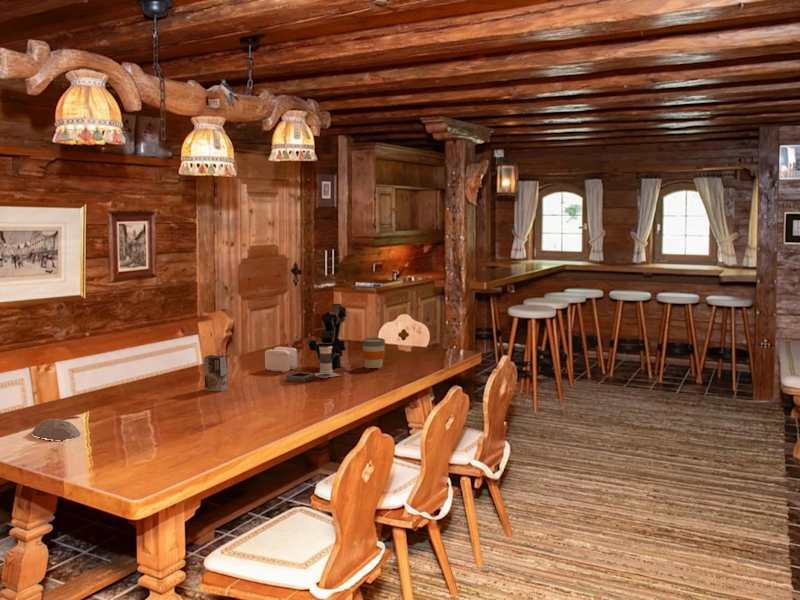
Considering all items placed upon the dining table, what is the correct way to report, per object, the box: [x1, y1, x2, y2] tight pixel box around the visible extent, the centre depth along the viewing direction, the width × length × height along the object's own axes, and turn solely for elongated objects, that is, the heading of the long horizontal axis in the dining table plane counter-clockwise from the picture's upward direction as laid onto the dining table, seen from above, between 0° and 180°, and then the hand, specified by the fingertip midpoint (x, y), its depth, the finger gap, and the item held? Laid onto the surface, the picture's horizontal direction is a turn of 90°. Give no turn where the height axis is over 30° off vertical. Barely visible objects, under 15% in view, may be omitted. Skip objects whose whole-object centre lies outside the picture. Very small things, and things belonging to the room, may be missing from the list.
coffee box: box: [203, 354, 229, 392], centre depth 368 cm, size 9×6×16 cm
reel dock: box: [285, 371, 316, 383], centre depth 390 cm, size 10×10×2 cm
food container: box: [31, 417, 82, 440], centre depth 294 cm, size 16×25×7 cm, turn 50°
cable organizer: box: [264, 346, 298, 373], centre depth 414 cm, size 15×11×12 cm
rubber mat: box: [314, 372, 341, 379], centre depth 400 cm, size 11×11×1 cm
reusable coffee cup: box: [361, 337, 386, 369], centre depth 421 cm, size 13×13×15 cm
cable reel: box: [319, 346, 334, 373], centre depth 399 cm, size 7×7×13 cm
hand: (325, 358), depth 397 cm, fingers closed on cable reel, 6 cm apart
